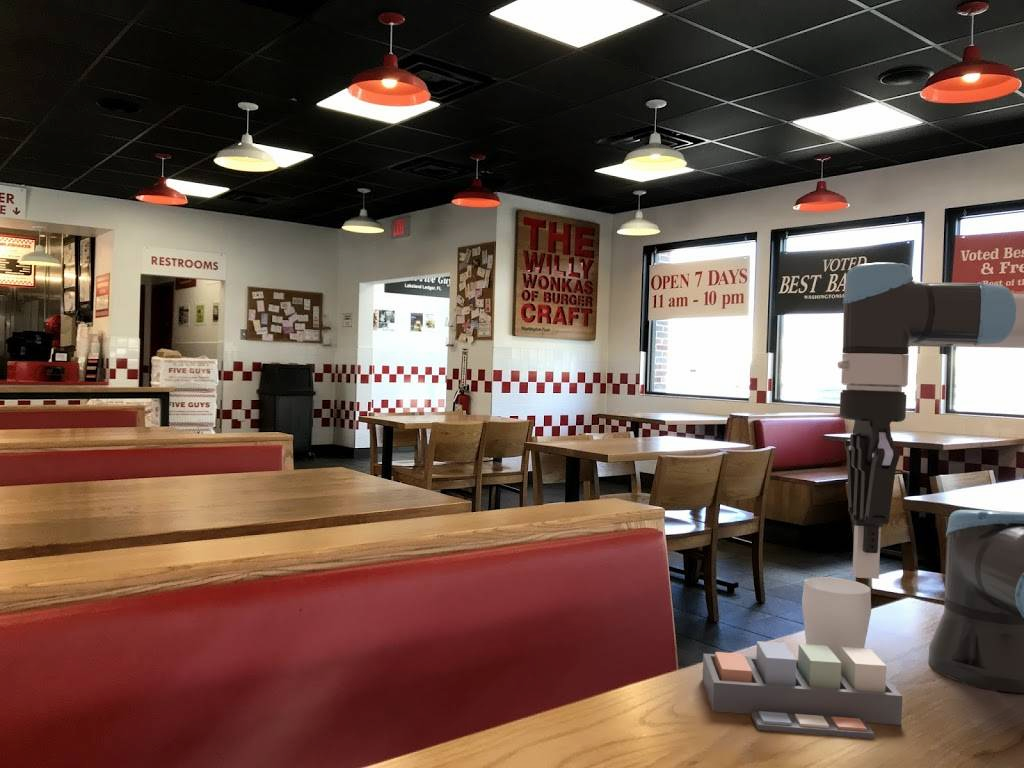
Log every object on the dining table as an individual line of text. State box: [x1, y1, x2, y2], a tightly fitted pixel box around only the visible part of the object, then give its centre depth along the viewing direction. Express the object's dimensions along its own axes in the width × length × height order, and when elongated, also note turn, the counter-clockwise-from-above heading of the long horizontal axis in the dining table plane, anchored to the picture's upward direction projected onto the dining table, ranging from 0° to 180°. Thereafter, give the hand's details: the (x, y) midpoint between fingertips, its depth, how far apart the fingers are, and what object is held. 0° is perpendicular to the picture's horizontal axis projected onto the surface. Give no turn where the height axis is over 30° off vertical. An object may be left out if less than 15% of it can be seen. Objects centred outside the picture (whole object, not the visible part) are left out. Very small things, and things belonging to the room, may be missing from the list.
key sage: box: [797, 643, 841, 689], centre depth 101 cm, size 4×6×4 cm, turn 174°
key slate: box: [755, 640, 798, 686], centre depth 101 cm, size 4×6×4 cm, turn 174°
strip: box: [751, 711, 875, 740], centre depth 94 cm, size 13×4×1 cm, turn 84°
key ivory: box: [840, 647, 887, 692], centre depth 100 cm, size 4×6×4 cm, turn 174°
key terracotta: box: [714, 651, 752, 683], centre depth 102 cm, size 4×6×4 cm, turn 174°
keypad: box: [702, 653, 903, 726], centre depth 101 cm, size 22×10×4 cm, turn 84°
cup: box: [801, 576, 872, 661], centre depth 112 cm, size 9×9×12 cm
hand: (865, 576), depth 100 cm, fingers closed
